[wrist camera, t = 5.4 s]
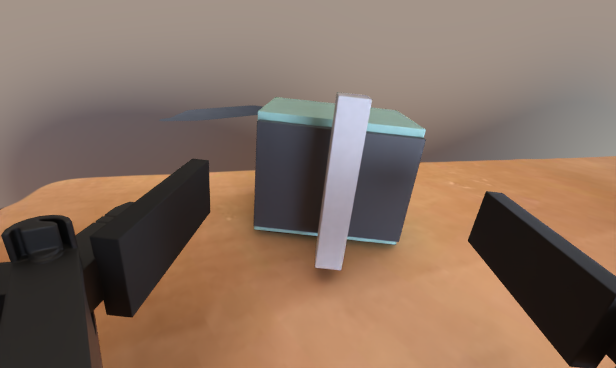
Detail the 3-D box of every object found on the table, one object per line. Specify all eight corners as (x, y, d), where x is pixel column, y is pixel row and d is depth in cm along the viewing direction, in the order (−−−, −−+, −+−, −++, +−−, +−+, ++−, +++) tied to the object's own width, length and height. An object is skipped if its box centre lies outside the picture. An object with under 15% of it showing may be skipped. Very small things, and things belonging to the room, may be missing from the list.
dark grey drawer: (416, 283, 18) (470, 109, 14) (238, 263, 18) (240, 84, 14) (379, 197, 29) (403, 87, 25) (270, 185, 29) (276, 73, 25)
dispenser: (395, 244, 23) (426, 129, 19) (253, 229, 23) (257, 111, 19) (377, 199, 30) (396, 110, 26) (270, 187, 30) (275, 96, 26)
